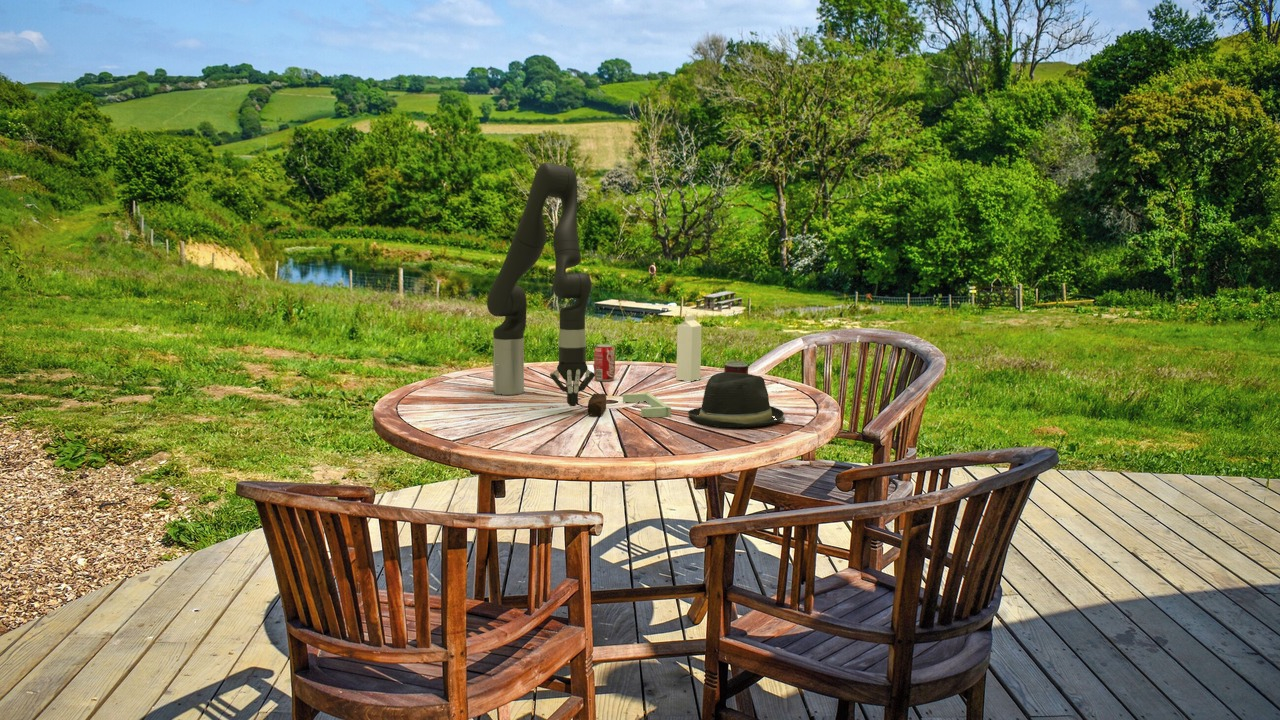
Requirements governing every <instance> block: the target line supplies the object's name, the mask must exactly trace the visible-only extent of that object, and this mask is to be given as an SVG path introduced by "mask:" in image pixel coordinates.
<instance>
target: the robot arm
mask: <svg viewBox="0 0 1280 720" xmlns="http://www.w3.org/2000/svg"><path fill="white" fill-rule="evenodd" d="M530 186H531V187H530V190H529V194H528V197H527V201H526V203H525V207H524V210H523V213H522V215H521V217H520V221H519V223H518V225H517V228H516V230H515V233H514V235H513V238H512V240H511V243H510V246H509V248H508V251H507V254H506V256H505V259H504V261H503V264H502V266H501V268H500V270H499V273H498V274H497V276H496V278H495V280H494V281H493V284H492V286H491V287H490V290H489V292H488V295H487V300H486V307H487V310H488V313H489V314H490V315H492V316H494V317H497V318H498V317H504V320H503V322H502V323H501V324H499V325H498V326H496V327H495V328H494V329H493V335H492V336H493V360H492V382H493V383H492V389H493V390H494V391H493V393H494V392H495V393H494V394H495V395H501V394H502V396H512V395H520V394H521V395H522V394H523V393H525V364H524V363H525V351H524V350H525V349H524V348H525V347H524V345H525V344H524V343H525V341H524V336H525V335H524V334H525V331H526V327H527V326H526V325H527V309H528V308H527V307H528V306H527V305H528V304H527V296H526V292H525V290H524V289H523V288H522V287H521V286H520V285H517V283H518V281H520V279H521V278H522V277H523V276H524V275H525V274H526V273H527V272H528V271H529V270H530V269H532V267H533V266H534V265H536V263H537V261H538V260H539V259H540V257H541V255H542V253H543V251H544V250H543V249H544V248H545V245H546V242H547V237H548V236H547V229H546V225H545V220H544V217H543V216H544V215H543V210H544V205H545V203H546V201H547V199H548V197H550V198H554V199H555V198H556V199H560V201H561V207H562V208H561V209H562V210H561V216H560V217H559V219H558V222H557V223H556V225H555V229H554V231H553V237H552V238H553V239H552V241H553V242H552V243H553V250H554V251H553V252H554V256H555V268H554V276H553V281H552V282H553V283H552V290H553V291H552V292H553V294H555V296H556V297H557V298H559V299H561V300H562V299H564V300H565V299H575V301H574V303H573V304H572V305H569V306H564V307H562V308H561V309H559V332H558V364H557V367H556V370H555V371H554V372H551V373H549V377H550V379H552V380H553V382H554V383H555V384H556V386H557V387H558V388H559V389H560V391H562V392H565V393H566V403H567V404H568V405H569V406H570V407H576V406H577V405H578V403H579V393H580V392H583V391H585V389H586V388H587V387H588V385H589V384H590V383H591V381H592V380H593V379H594V376H595V374H594V371H591V370H590V369H589V368H588V365H587V356H586V355H587V338H586V337H587V335H586V334H587V333H586V312H587V311H586V310H587V307H588V302H589V300H590V299H589V298H590V296H591V291H592V279H591V277H590V275H589V274H588V273H585V272H567V269H570V268H574V267H577V266H578V265H580V264H581V261H582V255H581V251H580V250H581V249H580V248H581V247H580V243H579V237H578V177H577V175H576V171H575V170H574V169H573V168H572V167H570V166H568V165H563V164H556V163H551V162H543V163H541V164H540V165H539V166H538V168H537V169H536V171H535V174H534V176H533V179H532V183H531V185H530ZM560 376H561V377H562V379H563V380H565V385H564V384H563V383H562V382H561V381H560V380H559V379H560ZM584 376H585V377H584ZM583 377H584V379H583V380H582V378H583ZM580 380H582V381H581V382H580Z"/></svg>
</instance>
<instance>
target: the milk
mask: <svg viewBox="0 0 1280 720" xmlns="http://www.w3.org/2000/svg"><path fill="white" fill-rule="evenodd" d="M702 328H703V327H702V324H701V323H699V321H697V320H696V316H695V315H690V316H688V315H687V316H684V321H682V322H681V323H680V324H678V325H677V332H676V334H677V336H676V337H677V338H676V377H675V378H676V379H675V380H676V381H678V380H684V381H693V380H697V379H700V380H701V370H702V369H701V367H702V366H701V365H702V363H701V361H702ZM684 381H683V382H684Z"/></svg>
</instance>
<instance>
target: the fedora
mask: <svg viewBox="0 0 1280 720" xmlns="http://www.w3.org/2000/svg"><path fill="white" fill-rule="evenodd" d="M687 414H688V416H689V417H690V418H691V419H692V420H693V421H695V422H697V423H699V424H701V425H704V426H709V425H710V427H717V426H719V427H720V428H734V427H735V428H740V427H741V428H755V427H762V426H763V427H765V426H769V425H772V424H776V423H777V422H779V421H781V419H783V417H784V415H785V412H784V411H783V410H781V409H779V408H777V407H775V406H771V405H770V399H769V393H768V389H767V386H766V382H765V379H764V378H763V376H761V375H755V374H750V373H748V374H746V373H734V372H719V373H715V374H713V375H711V376H710V378H709V379H708V381H707V382H706V384H705V389H704V393H703V398H702V402H701V407H697V408H693V409H689V410H688V411H687ZM699 414H700V415H699ZM697 415H698V416H697ZM772 416H775V418H776V419H777V420H774V419H775V418H773V417H772ZM719 427H718V428H719ZM735 428H734V429H735Z"/></svg>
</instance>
